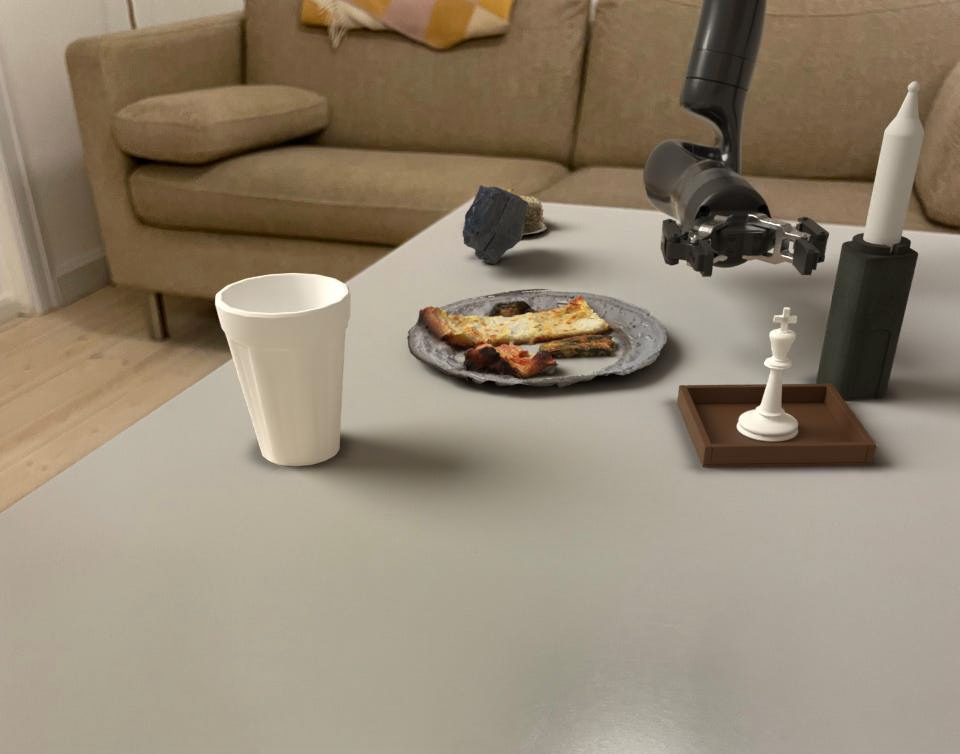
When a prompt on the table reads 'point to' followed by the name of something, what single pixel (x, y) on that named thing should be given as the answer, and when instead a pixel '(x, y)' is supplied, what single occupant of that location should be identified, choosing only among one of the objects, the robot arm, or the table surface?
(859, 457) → the serving tray
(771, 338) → the chess piece
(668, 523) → the table surface
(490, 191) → the stone
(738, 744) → the table surface
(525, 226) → the cake
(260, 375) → the cup
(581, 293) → the food plate
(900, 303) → the candle
